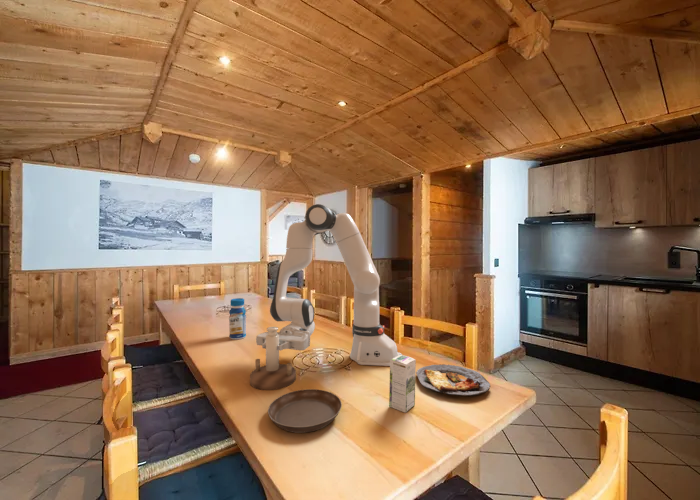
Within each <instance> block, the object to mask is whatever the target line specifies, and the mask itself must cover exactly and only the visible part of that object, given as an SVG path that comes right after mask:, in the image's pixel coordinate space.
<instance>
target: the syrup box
mask: <svg viewBox="0 0 700 500" xmlns="http://www.w3.org/2000/svg"><path fill="white" fill-rule="evenodd" d="M416 361H417V360H416V359H415V358H413V357H411V356H407V355H404V354H402V355H399V356H397V357H395V358H393V359H391V360H390V366H389V398H388V399H389V402H388V406H389V407H390V408H391V409H395V410H396V411H399V412H403V413H405V414H406V413H408V411H410V410H411V409H412V408H413V407H415V404H416V370H417V369H416V363H417V362H416Z"/></svg>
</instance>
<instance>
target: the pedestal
mask: <svg viewBox="0 0 700 500" xmlns="http://www.w3.org/2000/svg"><path fill="white" fill-rule="evenodd" d="M254 367H255V369H254V370H252V372H250V375H249V385H250V386H251V387H252V388H254V389H255V390H261V391H274V390H279V389H280V390H281V389H285V388H286V387H289V386H291V385H292V384H294V383H295V381H296V379H297V370H296V368H295V367H294V366H292V363H291V362H288V363H286V364H282V363H281V364H280V363H279V369H278V370H276V371H267V370H266V365H263V366H261V359H260V358H256V359H255V366H254Z"/></svg>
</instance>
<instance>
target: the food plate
mask: <svg viewBox="0 0 700 500" xmlns="http://www.w3.org/2000/svg"><path fill="white" fill-rule="evenodd" d="M443 374H445V375H446V376H447V378H448V379H447V378H446V377H445V376H444V375H443ZM415 375H416V376H417V378H418V381H419V383H420V385H422V387H424V388H426V389H427V390H431V391H433V392H436V393H439V394H444V395H447V396H466V397H471V396H477V395H480V394H485V393H487V392H489V391H490V388H491V383H490V382H489V380H487V379H486V378H485V377H484V376H483V374H481V373H480V372H478V371H476V370H475V369H474V370H473V369H471V368H466V367H463V366H460V365H453V364H444V363H443V364H430V365H427V366H422V367H420V368H418V369H417V371H415ZM459 376H462V377H464V379H463V378H460V377H459Z"/></svg>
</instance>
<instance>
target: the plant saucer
mask: <svg viewBox="0 0 700 500" xmlns="http://www.w3.org/2000/svg"><path fill="white" fill-rule="evenodd" d="M342 405H343V404H342V401H341V399H340V397H339V396H338V395H336V394H334V393H332V392H330V391H327V390H323V389H316V388H315V389H314V388H313V389H311V388H310V389H307V388H306V389H299V390H294V391H291V392H287V393H284V394H282V395H280V396H278V397H277V398H275V399H274V400H273V401H272V402H271V403H270V405H269V407H268V409H267V413H268V417H269V418H270V420H271V421H272V422H273V423H274V424H275V425H276V426H277V427H278V428H281V429H282V430H285V431H287V432H289V433H291V432H292V433H299V434H300V433H311V432H315V431H319V430H321V429H323V428H325V427H327V426H328V425H330V423H332V422H333V421H334V420H335V419H336V417H338V415H339V413H340V411H341V409H342V407H343V406H342Z"/></svg>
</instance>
